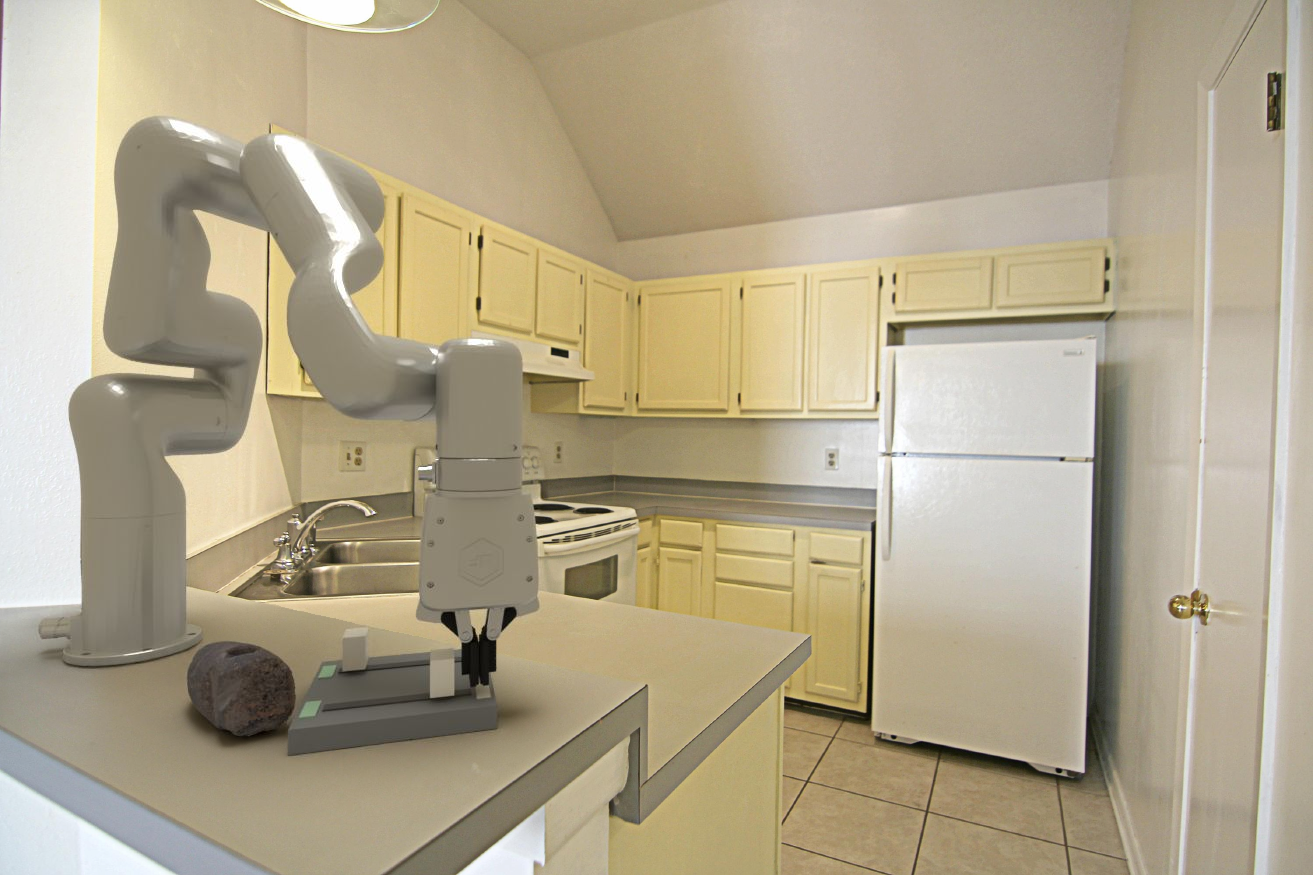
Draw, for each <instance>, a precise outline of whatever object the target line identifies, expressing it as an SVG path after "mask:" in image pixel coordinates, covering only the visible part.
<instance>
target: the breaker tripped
mask: <svg viewBox="0 0 1313 875" xmlns="http://www.w3.org/2000/svg"><path fill="white" fill-rule="evenodd" d="M454 650H455V649H454V647H452V648H451V647H450V648H438V649H430V651H429V652H430V698H436V697H445V696H454Z"/></svg>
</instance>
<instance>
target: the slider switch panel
mask: <svg viewBox="0 0 1313 875" xmlns="http://www.w3.org/2000/svg"><path fill="white" fill-rule="evenodd" d="M430 652H431V651H425V652H424V651H423V652H413V653H405V654H404V653H402V654H395V655H394V654H393V655H392V654H391V655H382V656H371V657H369V656H368V662H367V665H366V669H363V670H352V671H343V659H338V660H337V659H335V660H329V661H328V660H326V661H321V664H320V666H319V668H318V670H317V671H316V673H315V676H314V677H313V679H312V682H310V683H311V684H310V685H309V688H308V689H307V691H306V693H305V695H304V697H303V699H302V701H301V704H300V705H299V708H298V710H297V711H296V713H295V716H294V717H293V719H292V722H291V723H290V725H289V726H288V729H287V755H288V756H294V755H302V754H308V753H310V754H311V753H316V752H325V751H331V750H332V751H333V750H340V749H349V748H357V747H364V746H371V745H379V744H381V745H382V744H388V743H394V742H395V743H396V742H402V741H403V742H404V741H411V740H410V739H412V740H418V739H419V740H420V739H427V738H433V737H443V736H449V735H457V734H464V733H466V734H467V733H473V732H481V731H489V730H496V729H498V704H497V699H496V698H497V697H496V694H495V689H494V688H495V687H494V684H493V683H494V682H493V679H492V674H491V673H492V672H489V685H487V686H483V684H482V685H480V679H479V685H476V687H470V680H469V675H462V672H461V648H459V649H454V696H445V697H436V698H430Z"/></svg>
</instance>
